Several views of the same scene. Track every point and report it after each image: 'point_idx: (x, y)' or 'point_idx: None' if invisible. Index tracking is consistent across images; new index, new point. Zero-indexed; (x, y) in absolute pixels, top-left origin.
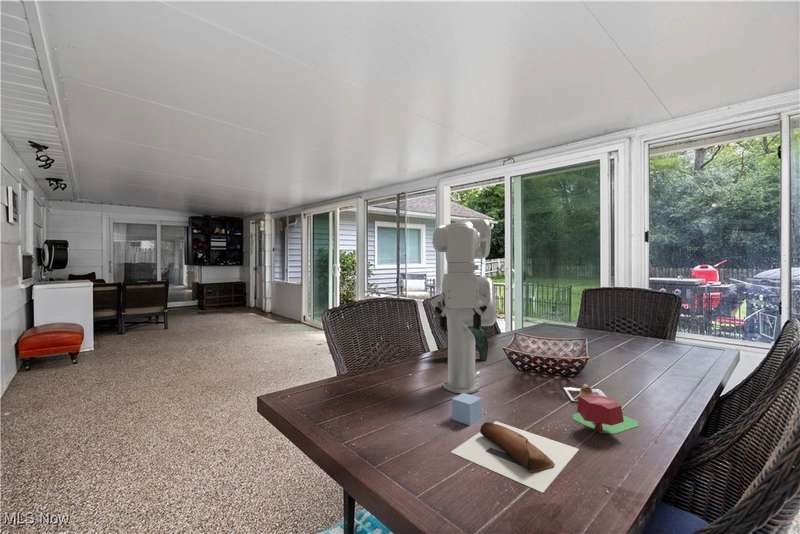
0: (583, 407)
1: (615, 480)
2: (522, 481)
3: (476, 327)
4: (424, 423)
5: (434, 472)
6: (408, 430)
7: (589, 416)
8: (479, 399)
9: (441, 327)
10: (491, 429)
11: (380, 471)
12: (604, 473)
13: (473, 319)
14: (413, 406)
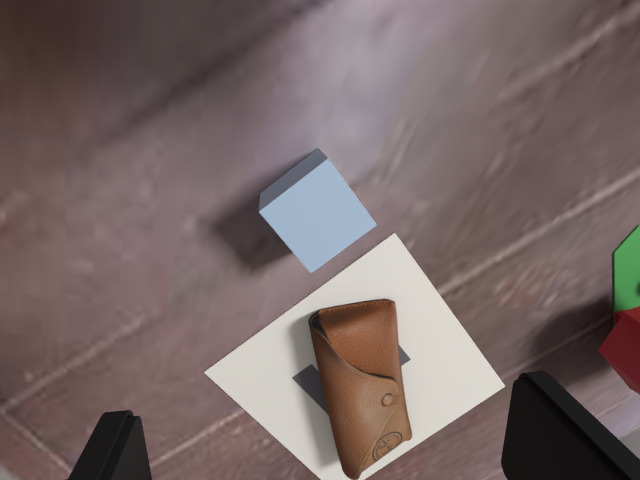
0: (637, 344)
1: (484, 472)
2: (319, 471)
3: (512, 467)
4: (156, 209)
5: (149, 435)
6: (95, 249)
7: (614, 365)
8: (364, 233)
9: (101, 428)
10: (327, 367)
11: (18, 425)
12: (483, 456)
13: (584, 458)
14: (127, 50)
